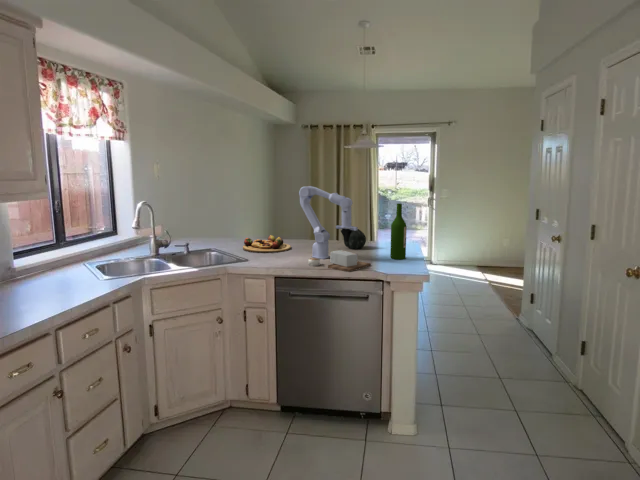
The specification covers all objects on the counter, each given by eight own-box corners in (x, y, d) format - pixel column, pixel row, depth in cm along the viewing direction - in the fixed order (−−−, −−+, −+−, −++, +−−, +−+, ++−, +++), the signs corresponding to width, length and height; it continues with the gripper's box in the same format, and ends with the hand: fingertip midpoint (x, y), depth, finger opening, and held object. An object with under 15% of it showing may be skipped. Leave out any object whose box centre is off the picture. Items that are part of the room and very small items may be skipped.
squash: (356, 237, 314) (347, 222, 306) (373, 240, 304) (363, 225, 295) (345, 252, 309) (335, 238, 300) (361, 256, 298) (352, 241, 290)
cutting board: (328, 268, 244) (328, 265, 244) (350, 262, 259) (350, 259, 258) (348, 271, 235) (348, 269, 235) (370, 265, 250) (370, 262, 249)
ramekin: (305, 265, 251) (305, 258, 251) (313, 263, 256) (313, 257, 256) (314, 266, 247) (314, 260, 247) (322, 264, 252) (322, 258, 251)
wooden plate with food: (234, 252, 292) (233, 239, 291) (255, 243, 322) (255, 232, 321) (279, 256, 283) (279, 243, 281) (297, 246, 313) (297, 235, 311)
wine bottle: (405, 260, 264) (407, 204, 259) (390, 259, 266) (391, 204, 261) (405, 257, 273) (407, 203, 267) (390, 256, 274) (391, 202, 269)
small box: (329, 262, 249) (346, 267, 240) (330, 251, 248) (347, 255, 239) (340, 261, 255) (357, 265, 245) (340, 249, 254) (357, 253, 244)
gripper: (332, 218, 265) (332, 241, 267) (352, 220, 255) (352, 243, 258) (339, 217, 270) (340, 240, 272) (359, 219, 261) (359, 242, 263)
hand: (346, 241), depth 265 cm, fingers closed
